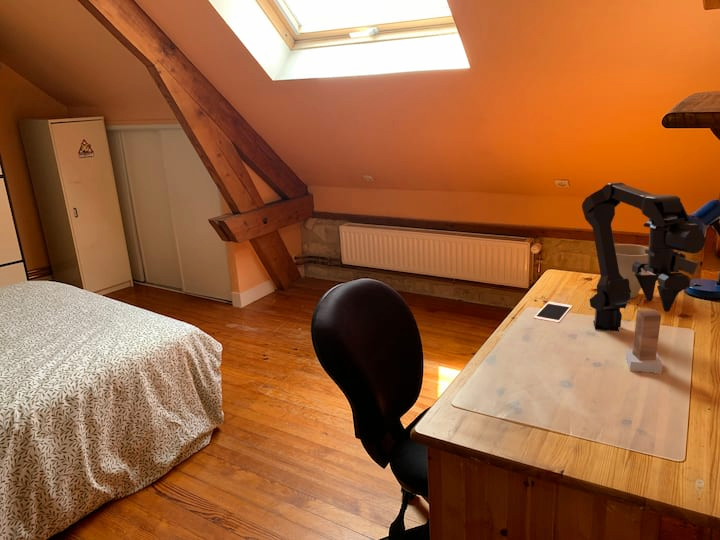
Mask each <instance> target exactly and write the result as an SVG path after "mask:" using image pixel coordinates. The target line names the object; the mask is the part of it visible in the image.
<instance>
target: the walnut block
mask: <svg viewBox="0 0 720 540" xmlns="http://www.w3.org/2000/svg"><path fill="white" fill-rule="evenodd" d="M661 320H662V314H661V313H659V312H658V311H657V310H656V309H654V308H652V309H651V308H644V309H636V316H635V323H634V335H633V344H632V350H633V351H632V354H633V355H634V356H635V357H636V358H637V359H638V360H639V361H640V360H656V354H658V345H659V344H658V343H659V336H660V330H661V329H660V328H661V322H662V321H661Z"/></svg>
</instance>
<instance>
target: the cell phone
mask: <svg viewBox="0 0 720 540" xmlns="http://www.w3.org/2000/svg"><path fill="white" fill-rule="evenodd" d="M572 308H573V305H572V304H566V303H559V302H553V301H547V303H546V304H544V306H543V307H542V308H541V309H540V310H539V311H538V312H537V314H535V315H534V316H533V319H535V320H540V321H546V322H552V323H560V322H562V320H563V318H564V317H565V316H566V315H567V314H568V313H569V311H570V310H571V309H572Z"/></svg>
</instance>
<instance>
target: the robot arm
mask: <svg viewBox="0 0 720 540" xmlns="http://www.w3.org/2000/svg"><path fill="white" fill-rule="evenodd" d="M621 203H623V204H626V205H627V206H631V207H634V208H637V209H639V210H640V211H641V214H642V215H643V216H644V217H646V218H647V219H649V220H647V221H646V222H645V223H644V224H643V227H644V228H649V234H648V236H649V238H648V248H649V249H645V253H646V254H648V261H636V262H635V263H634V264H633V265H632V271H633V272H635V274H634V275H635V276H636V278H637V280H638V282H639V284H640V286H641V290H642V293H643V294H644V295H643V296H644V297H645V299H646V301H647V302H652V301H653V299H654V293H655V288H656V287H657V291H658V294H659V298H660V302H661V305H662V309H663V312H664V313H669V312H670V311H671V310H672V306H673V304H674V302H675V301H676V298H677V296H678V295H679V293H681V292H682V291H685V290H687V289H690V288H691V286H692V278H691V277H689V276H688V275H686V274H685V273H688V274H689V275H692V276H694V275H695V273H696V272H697V269H698V267H699V265H700V263H698V262H696V261H694V260H691V259H689V258H687V257H686V254H684V253H688V254H693V255H695V254H698V253H699V252H701V251H702V250H703V248H704V247H705V244H706V237H705V234H704V232H703V231H702V230H701V229H699V228H700V224H698V223H692V221H691V219H690V216H689V215H688V213H687V211H686V209H685V207H684V204H683V203H682V202H681V198H680V197H679V196H677V195H675V194H674V195H672V194H656V193H650V192H647V191H644V190H642V189H638V188H636V187H633V186H630V185H627V184H626V183H624V182H619V181H618V182H611V183H610V182H608V183H607V184H605V185H604V186H603V187H602V188H601V189H599V190H597V191H594V192H593V193H591V194H590V195H589V196H587V197H585V199H584V200H583V202H582V204H581V209H582V213H583V215H584V219H585V221H586V222H587V223H588V224H589V225H590V226H591V228H592V232H593V238H594V239H593V240H594V244H595V250H596V256H597V261H598V266H599V267H598V268H599V273H600V277H599V280H598V282H597V285H596V293H595V294H594V295H593V296H592V297H590V298H589V306H590V308H592V309H595V310H594V320H593V327H594V330H596V331H605V332H606V331H607V332H608V331H609V332H620V328H621V325H622V316H623V315H622V312H621V309H626V308H627V305H628V303H629V301H630V300H631V298H630V293H631V290H630V286H629V280H628V279H624V278H623V277H622V276H621V275H620V273H619V268H618V262H617V256H616V250H615V245H616V244H615V240H614V234H613V227H612V222H613V220H614V217H616V216H615V215H616V207H618V206H619V205H620V204H621ZM682 252H683V253H682ZM680 271H681V272H680ZM682 272H685V273H682ZM656 283H657V284H658V285H657V284H656ZM656 285H657V286H656Z"/></svg>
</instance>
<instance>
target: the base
mask: <svg viewBox="0 0 720 540" xmlns="http://www.w3.org/2000/svg"><path fill="white" fill-rule="evenodd" d="M632 351H633V349H626V351H625V352H626V353H625V361H626V360H627V361H626V364H627V363H628V364H627V367H628V366H629V367H628V369H630V370H631V371H630V370H629V371H630V372H638V371H642V372H641V373H649V372H656V373H655V374H660V373H661V374H662V371H663V370H662V369H663V363H662V361H661V359H660V356H659V354H658V353H657V354H656V360H640V361H639V360H638V359H637V358H636V357H635V356H634V355H633V354H632Z"/></svg>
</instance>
